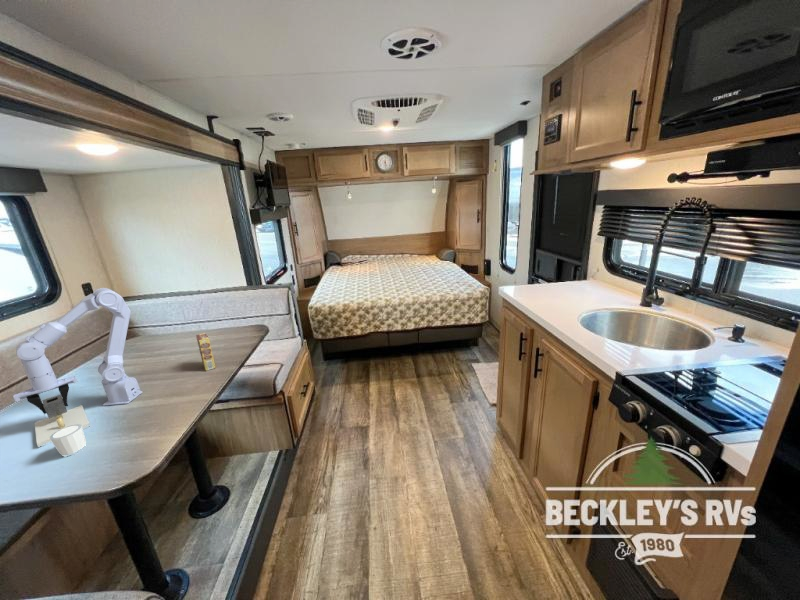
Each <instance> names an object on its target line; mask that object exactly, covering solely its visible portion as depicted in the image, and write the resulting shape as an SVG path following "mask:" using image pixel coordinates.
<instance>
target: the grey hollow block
mask: <svg viewBox="0 0 800 600" xmlns="http://www.w3.org/2000/svg"><path fill="white" fill-rule="evenodd" d="M41 401H42V403H43V407H44V409H45V411H46V415H47V418H49V419H50V418H53V417H55V416H58V415H61V414H63V413H66V412H67V410H68V409H67V406H66V407H65V405H64V402H63V398H62V396H61V394H60V393H59V394H57V395H54V396H51V397H48V398H45V399H43V400H42V399H41Z"/></svg>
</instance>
